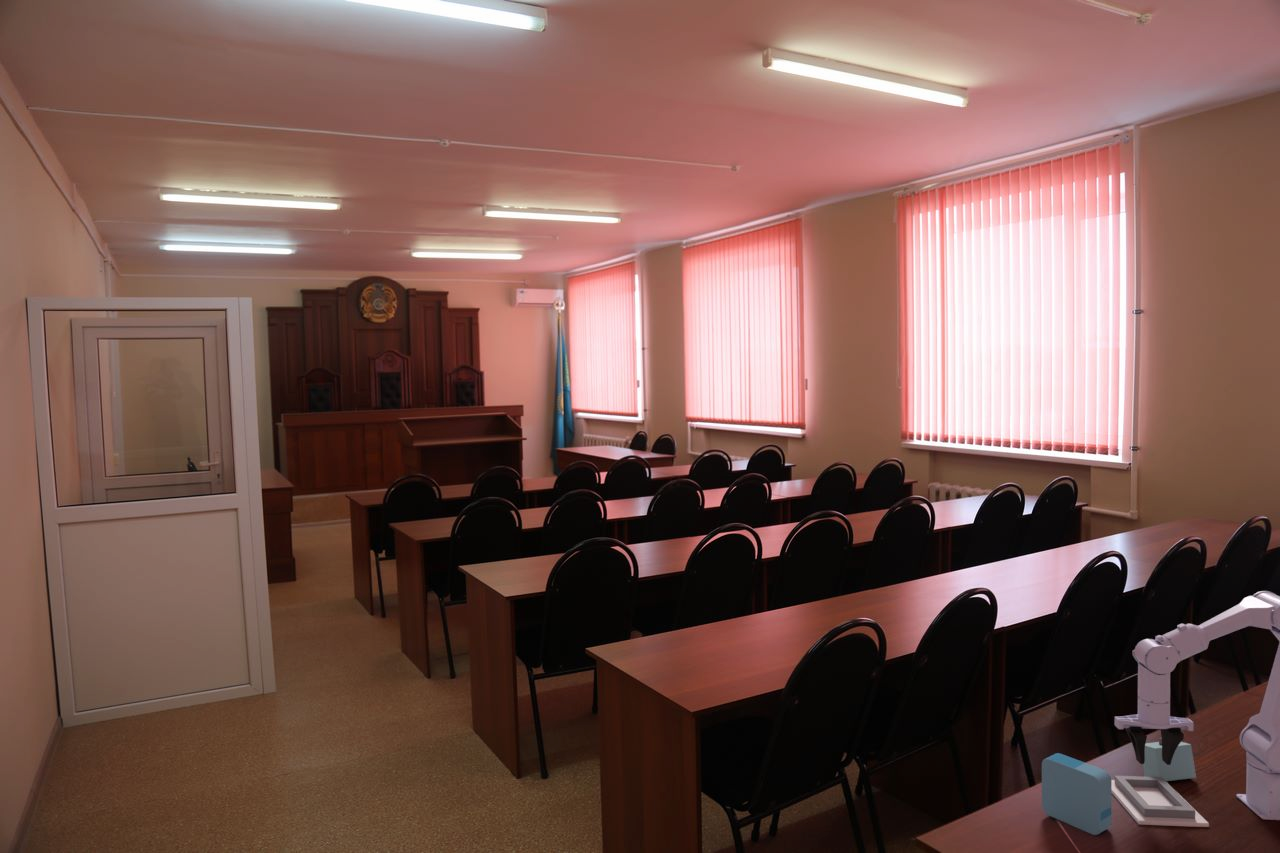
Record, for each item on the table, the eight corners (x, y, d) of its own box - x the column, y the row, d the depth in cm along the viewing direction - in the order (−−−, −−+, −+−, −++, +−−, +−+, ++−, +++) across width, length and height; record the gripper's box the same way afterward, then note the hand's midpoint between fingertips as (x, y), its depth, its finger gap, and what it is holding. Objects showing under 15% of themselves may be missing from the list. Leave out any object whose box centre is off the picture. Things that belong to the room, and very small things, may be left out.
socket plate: (1208, 827, 165) (1208, 814, 165) (1138, 824, 166) (1138, 812, 166) (1166, 785, 182) (1166, 774, 181) (1103, 783, 183) (1103, 772, 183)
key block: (1196, 777, 183) (1190, 738, 184) (1159, 781, 181) (1154, 742, 182) (1180, 772, 187) (1174, 734, 188) (1144, 776, 186) (1139, 738, 187)
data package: (1111, 831, 164) (1112, 772, 164) (1099, 838, 162) (1100, 778, 161) (1053, 805, 174) (1053, 750, 174) (1041, 812, 172) (1041, 756, 171)
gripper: (1181, 692, 176) (1180, 754, 176) (1108, 690, 178) (1108, 752, 178) (1199, 705, 169) (1198, 770, 169) (1123, 703, 171) (1122, 767, 171)
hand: (1153, 762), depth 173 cm, fingers open, 4 cm apart
